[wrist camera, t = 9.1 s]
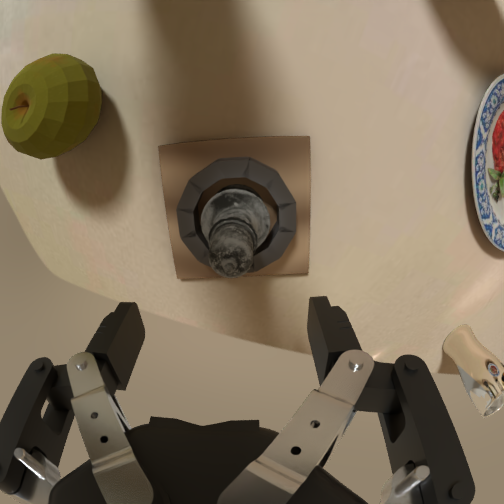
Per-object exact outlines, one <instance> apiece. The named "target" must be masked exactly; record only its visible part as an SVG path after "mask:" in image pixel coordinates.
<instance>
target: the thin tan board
mask: <svg viewBox="0 0 504 504" xmlns="http://www.w3.org/2000/svg"><path fill="white" fill-rule="evenodd" d="M158 148H159V158H160V167H161V176H162V184H163V192H164V200H165V207H166V214H167V221H168V228H169V234H170V240H171V246H172V252H173V258H174V264H175V269H176V275H177V279H185V278H213V277H223V276H221V275H219V274H218V273H216V272H215V271H214V270H213V269H212V267H211V265H210V263H209V258H208V255H209V249H210V247H209V243H208V241H207V240H206V238H205V236H204V234H203V232H202V227H201V215H202V212H203V209H204V207H205V205H206V204H207V202H208V201H209V200H210V199H211V198H212V197H213V196H215V194H216V193H217V192H218V191H219V190H221V189H222V188H223V187H226V186H228V185H233V184H241V185H246V186H248V187H251V188H252V189H254V190H255V191H256V192H257V193H258V194H259V195H260V197H261V198H262V200H263V203H264V204H265V205H266V207H267V210H268V212H269V215H270V229H269V233H268V235H267V237H266V239H265V241H264V242H263V243H262V244H261V245H260V246H259V247H258V248H257V249H256V251H255V253H254V254H253V262H252V265H251V267H250V269H249V270H248V271H247V273H245V274H244V275H242V276H260V275H280V274H298V273H308V268H309V241H310V136H273V137H247V138H230V139H217V140H206V141H195V142H186V143H177V144H169V145H162V146H158Z"/></svg>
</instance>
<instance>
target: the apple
mask: <svg viewBox="0 0 504 504" xmlns="http://www.w3.org/2000/svg"><path fill="white" fill-rule="evenodd" d="M101 105H102V91H101V88H100V85H99V82H98V80H97V77H96V74H95V72H94V69H93V68H92V67H91V66H89V65H88V64H86V63H85V62H84V61H82V60H80V59H78V58H75V57H73V56H71V55H68V54H50V55H48V56H45V57H43V58H40V59H38V60H36V61H34V62H32V63H30V64H28V65H27V66H25V67H24V68H23V69H22V70H21V71H20V72H19V73H18V74H17V75H16V77H15V78H14V79H13V81H12V82H11V84H10V86H9V88H8V90H7V92H6V94H5V96H4V101H3V106H2V127H3V131H4V134H5V136H6V138H7V140H8V142H9V143H10V144H11V145H12V146H13V147H14V148H15V149H16V150H17V151H18V152H21V153H24V154H27V155H30V156H33V157H35V158H38V159H46V158H51V157H56V156H59V155H61V154H63V153H65V152H67V151H70V150H72V149H73V148H74V147H76V146H77V145H79V144H80V143H82V142H83V141H84V140H86V138H87V137H88V135H89V134H90V132H91V131H92V129H93V128H94V126H95V125H96V124H97V121H98V119H99V115H100V110H101Z"/></svg>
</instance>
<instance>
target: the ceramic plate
mask: <svg viewBox="0 0 504 504" xmlns="http://www.w3.org/2000/svg"><path fill="white" fill-rule="evenodd" d="M472 186H473V195H474V201H475V206H476V211H477V215H478V218H479V221H480V224H481V227H482V229H483V231H484V233H485V235H486V237H487V238H488V239H489V240H490V242H491V243H492V244H493V245H494V246H495V247H496V248H498V249H499V250H501V251H504V74H502V75H500V76H499V77H497V78H496V79H495V80H494V81H493V82H492V83H491V85H490V86H489V88H488V89H487V90H486V92H485V95H484V97H483V99H482V101H481V104H480V107H479V110H478V114H477V118H476V123H475V128H474V135H473V144H472Z"/></svg>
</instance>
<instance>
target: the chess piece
mask: <svg viewBox="0 0 504 504" xmlns="http://www.w3.org/2000/svg"><path fill="white" fill-rule="evenodd" d="M201 227H202V232H203V234H204V236H205V238H206V240H207V241H208V243H209V247H210V249H209V255H208V258H209V263H210V265H211V267H212V269H213V270H214V271H215V272H216V273H218V274H219V275H221V276H223V277H227V278H237V277H240V276H242V275H244V274H245V273H247V271H248V270H249V269H250V267H251V265H252V262H253V254H254V253H255V251H256V249H257V248H258V247H259V246H260V245H261V244H262V243H263V242H264V241H265V239H266V237H267V235H268V233H269V229H270V215H269V212H268V210H267V207H266V205H265V204H264V203H263V200H262V198H261V197H260V195H259V194H258V193H257V192H256V191H255V190H254V189H252V188H251V187H248V186H246V185H241V184H233V185H228V186H226V187H223V188H222V189H221V190H219V191H218V192H217V193H216V194H215V196H213V197H212V198H211V199H210V200H209V201H208V202H207V204H206V205H205V207H204V209H203V212H202V215H201Z"/></svg>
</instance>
